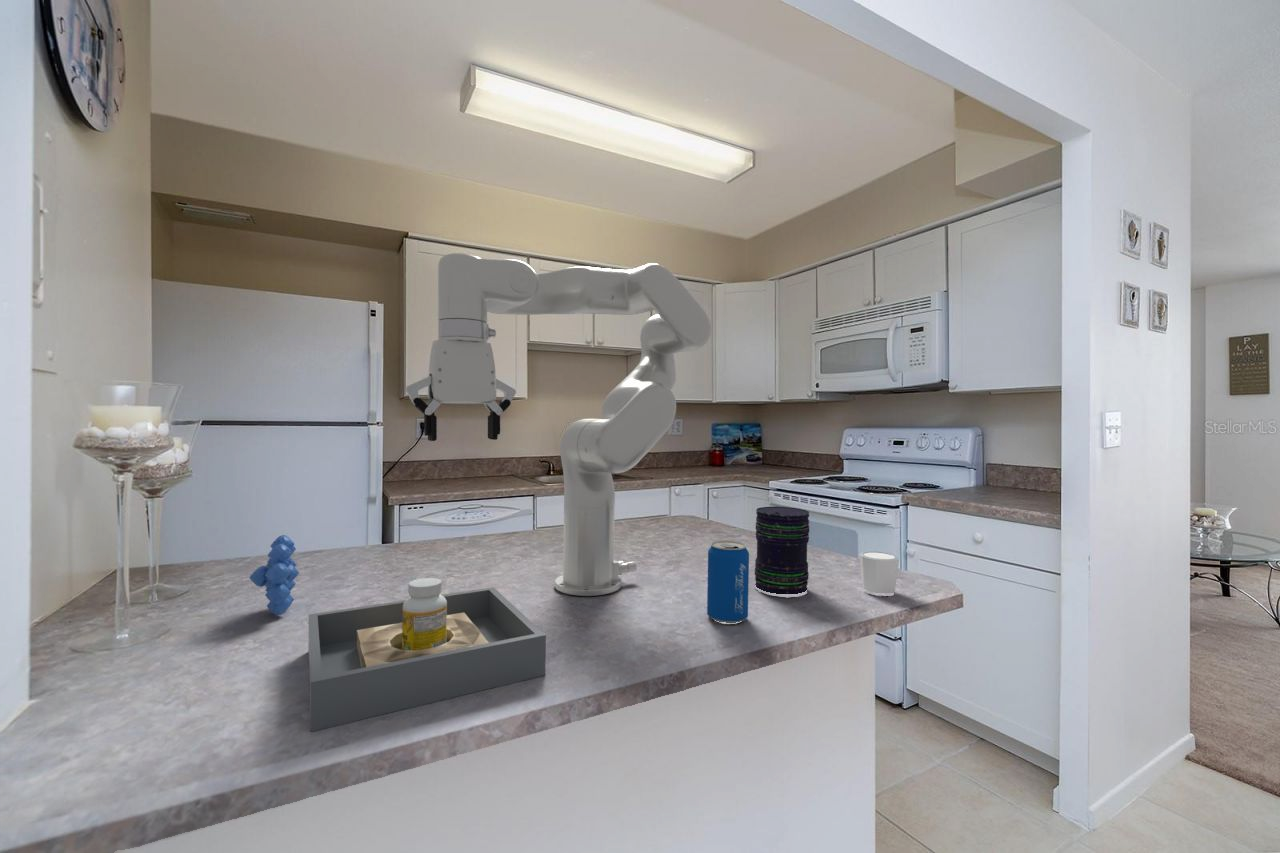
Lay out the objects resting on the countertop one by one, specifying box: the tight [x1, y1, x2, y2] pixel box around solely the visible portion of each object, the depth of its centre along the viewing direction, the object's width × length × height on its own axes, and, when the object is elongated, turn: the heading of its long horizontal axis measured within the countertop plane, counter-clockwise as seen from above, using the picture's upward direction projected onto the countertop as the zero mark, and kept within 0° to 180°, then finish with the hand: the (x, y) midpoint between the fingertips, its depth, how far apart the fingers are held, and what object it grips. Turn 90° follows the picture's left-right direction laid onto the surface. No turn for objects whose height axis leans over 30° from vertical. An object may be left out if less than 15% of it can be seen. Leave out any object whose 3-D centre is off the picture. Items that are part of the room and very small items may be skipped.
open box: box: [307, 587, 547, 732], centre depth 72 cm, size 25×22×5 cm
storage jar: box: [754, 506, 810, 594], centre depth 105 cm, size 10×10×15 cm
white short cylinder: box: [859, 551, 900, 593], centre depth 104 cm, size 7×7×7 cm
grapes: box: [249, 534, 300, 616], centre depth 89 cm, size 12×7×12 cm, turn 27°
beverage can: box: [706, 540, 750, 623], centre depth 89 cm, size 6×6×12 cm
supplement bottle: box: [402, 577, 447, 650], centre depth 72 cm, size 5×5×10 cm
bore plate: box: [357, 612, 489, 668], centre depth 72 cm, size 14×14×2 cm
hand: (463, 439), depth 90 cm, fingers open, 9 cm apart
